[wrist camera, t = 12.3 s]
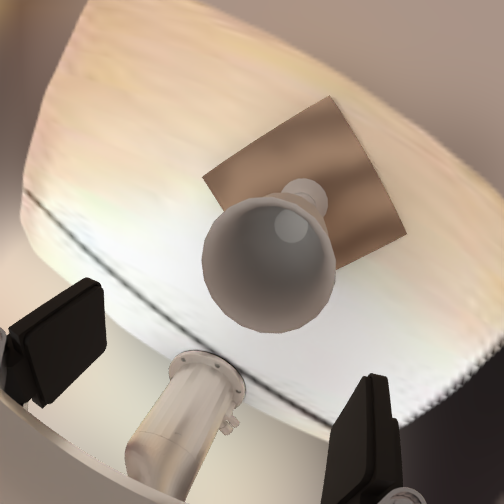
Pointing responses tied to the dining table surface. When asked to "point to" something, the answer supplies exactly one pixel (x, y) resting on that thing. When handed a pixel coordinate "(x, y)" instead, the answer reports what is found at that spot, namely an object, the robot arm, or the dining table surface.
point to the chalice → (272, 259)
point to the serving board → (316, 178)
